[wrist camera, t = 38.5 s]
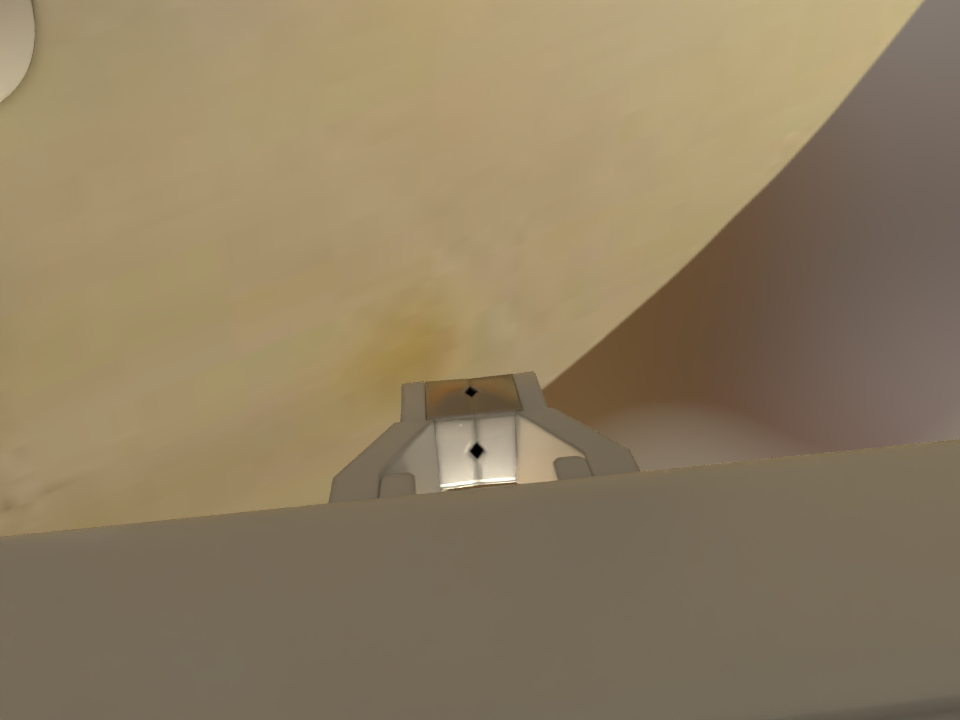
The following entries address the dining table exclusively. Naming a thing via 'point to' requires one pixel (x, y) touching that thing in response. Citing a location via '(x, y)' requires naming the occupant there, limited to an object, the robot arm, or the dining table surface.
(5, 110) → the dining table surface
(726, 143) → the dining table surface
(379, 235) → the dining table surface
